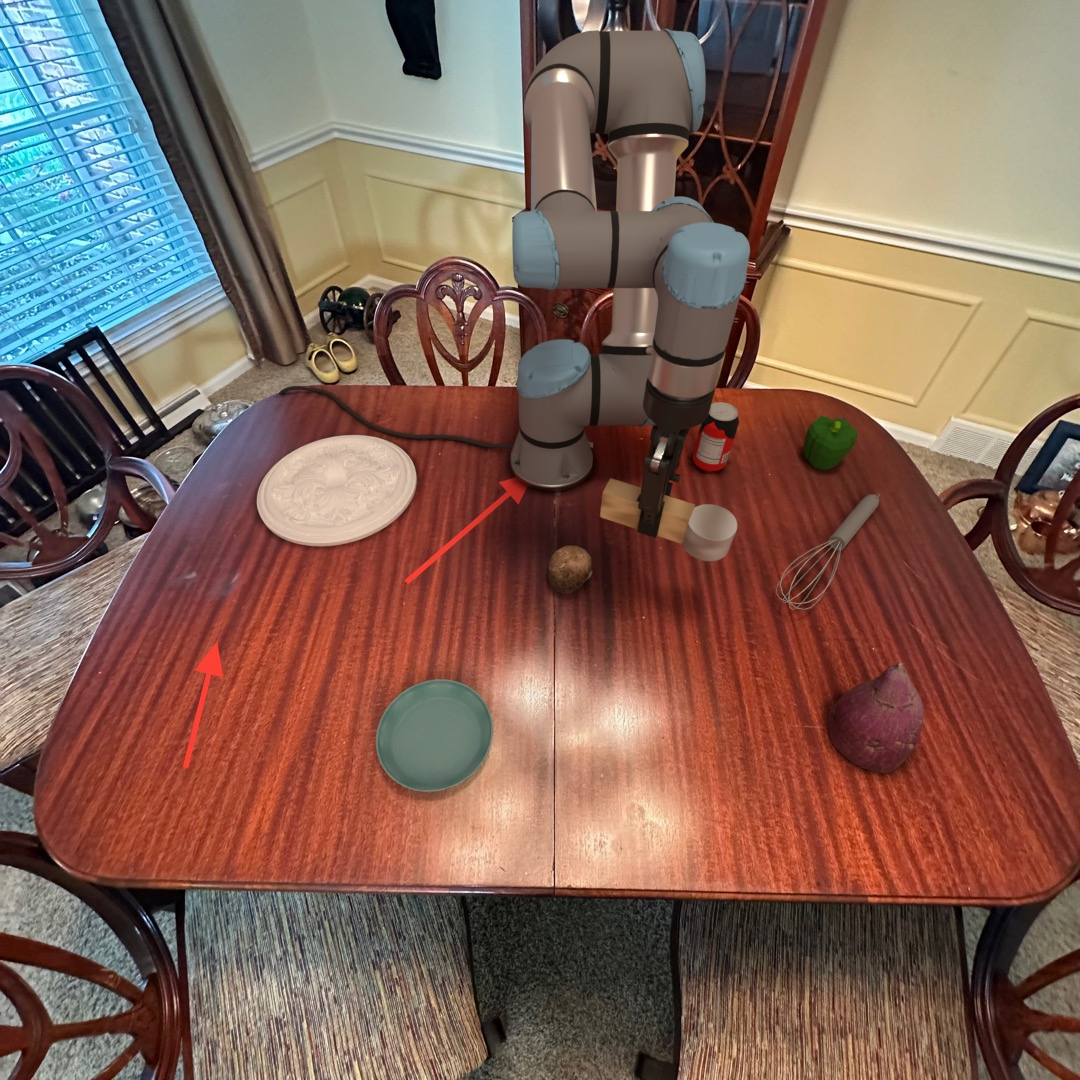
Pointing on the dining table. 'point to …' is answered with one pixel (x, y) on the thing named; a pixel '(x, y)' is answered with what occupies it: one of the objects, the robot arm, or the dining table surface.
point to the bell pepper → (828, 442)
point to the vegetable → (878, 721)
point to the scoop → (675, 520)
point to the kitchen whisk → (838, 541)
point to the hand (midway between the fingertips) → (651, 523)
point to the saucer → (434, 735)
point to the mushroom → (569, 568)
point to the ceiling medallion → (336, 490)
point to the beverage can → (716, 437)
